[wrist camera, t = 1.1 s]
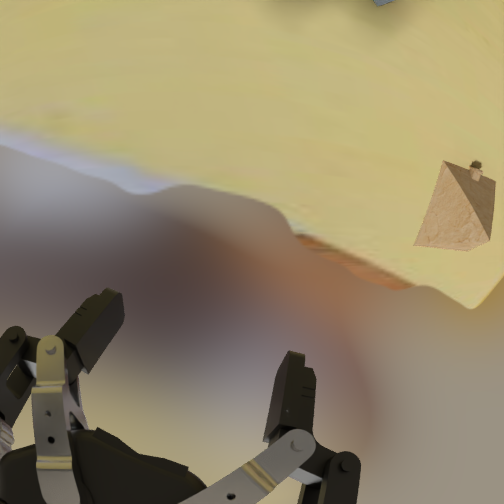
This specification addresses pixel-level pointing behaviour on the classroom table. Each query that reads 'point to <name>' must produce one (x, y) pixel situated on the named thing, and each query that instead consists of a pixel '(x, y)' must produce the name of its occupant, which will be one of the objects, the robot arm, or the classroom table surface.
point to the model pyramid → (458, 210)
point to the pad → (381, 2)
